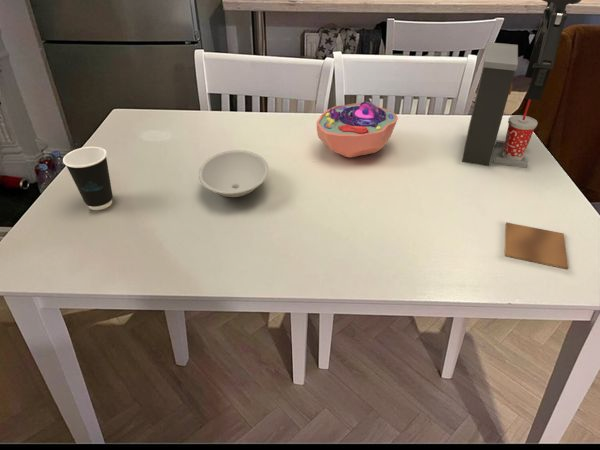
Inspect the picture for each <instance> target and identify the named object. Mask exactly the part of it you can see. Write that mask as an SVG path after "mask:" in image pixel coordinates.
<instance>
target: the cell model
mask: <svg viewBox="0 0 600 450" xmlns="http://www.w3.org/2000/svg"><path fill="white" fill-rule="evenodd" d="M398 120H399V117H398V115H397V114H396V113H395V112H394V111H392V110H389V109H387V108H384V107H382V106H378V105H376V104H374V103H372V102H370V101H362V102H360V103H358V102H357V103H356V102H355V103H348V104H341V105H340V104H339V105H335V106H333V107H330V108H329V109H327V110H325V111H324V112H323V113H321V115H320V116H319V118H318V119H317V120H316V133H317V137H318V138H319V140H320V141H321V142H322V143H323V144H324V145H325V146H326V147H327V148H328V149H329V150H330V151H332V152H334V153H335V154H339V155H341V156H343V157H344V158H345V157H346V158H356V157H361V156H366V155H372V154H375V153H377V152H379V151H381V150H382V148H384V147H385V145H386V144H387V143H388V142H389V140H390V138H391V137H392V134H393V132H394V129H395V127H396V125H397V122H398Z"/></svg>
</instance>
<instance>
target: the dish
mask: <svg viewBox="0 0 600 450" xmlns="http://www.w3.org/2000/svg"><path fill="white" fill-rule="evenodd" d="M269 172H270V167H269V164H268V162H267V161H266V159H264V158H263V157H262V156H261V155H260V154H258V153H256V152H253V151H249V150H244V149H232V150H225V151H222V152H218V153H216V154H214V155H212V156H210V157H208V158H207V159H206V160H205V161H204V162H203V163H202V164H201V165H200V168H199V170H198V179H199V182H200V183H201V185H202V186H203V187H204V188H205V189H207V190H209V191H210V192H213V193H215V194H217V195H219V196H222V197H228V198H238V197H243V196H245V195H248V194H250V193H251V192H254V190H255V189H257V188H258V187H259V186H261V185H262V184H263V183H264V182H265V181H266V179H267V178H268V176H269Z"/></svg>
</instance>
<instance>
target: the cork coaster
mask: <svg viewBox="0 0 600 450" xmlns="http://www.w3.org/2000/svg"><path fill="white" fill-rule="evenodd" d="M504 257H507V258H512V259H516V260H522V261H526V262H531V263H535V264H541V265H544V266H545V265H546V266H551V267H554V268H555V267H556V268H560V269H564V270H568V269H569V263H568V256H567V248H566V241H565V233H563V232H558V231H554V230H549V229H543V228H538V227H532V226H527V225H522V224H517V223H512V222H507V221H506V222H505V235H504Z"/></svg>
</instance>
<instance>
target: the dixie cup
mask: <svg viewBox="0 0 600 450" xmlns="http://www.w3.org/2000/svg"><path fill="white" fill-rule="evenodd" d="M107 156H108V151H107V150H106V149H104V148H103V147H99V146H83V147H80V148H76V149H73V150H72V151H69V152H68V153H66V154H65V155H64V156H63V158H62V163H63V164H64V165H65V167H66V168H67V170H68V173H69V174H70V176H71V178H72V180H73V183H74V184H75V186H76V188H77V190H78V192H79V194H80V196H81V198H82V200H83V202H84V204H85V205H86V206H87V208H88V209H89V210H92V211H101V210H105V209H108V207H110V206H111V205H112V204H113V197H114V195H113V190H112V184H111V177H110V171H109V165H108V158H107ZM108 203H109V204H108ZM106 204H107V205H106ZM104 205H105V206H104ZM89 206H91V207H89ZM101 206H103V207H101ZM93 207H98V208H93Z"/></svg>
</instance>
